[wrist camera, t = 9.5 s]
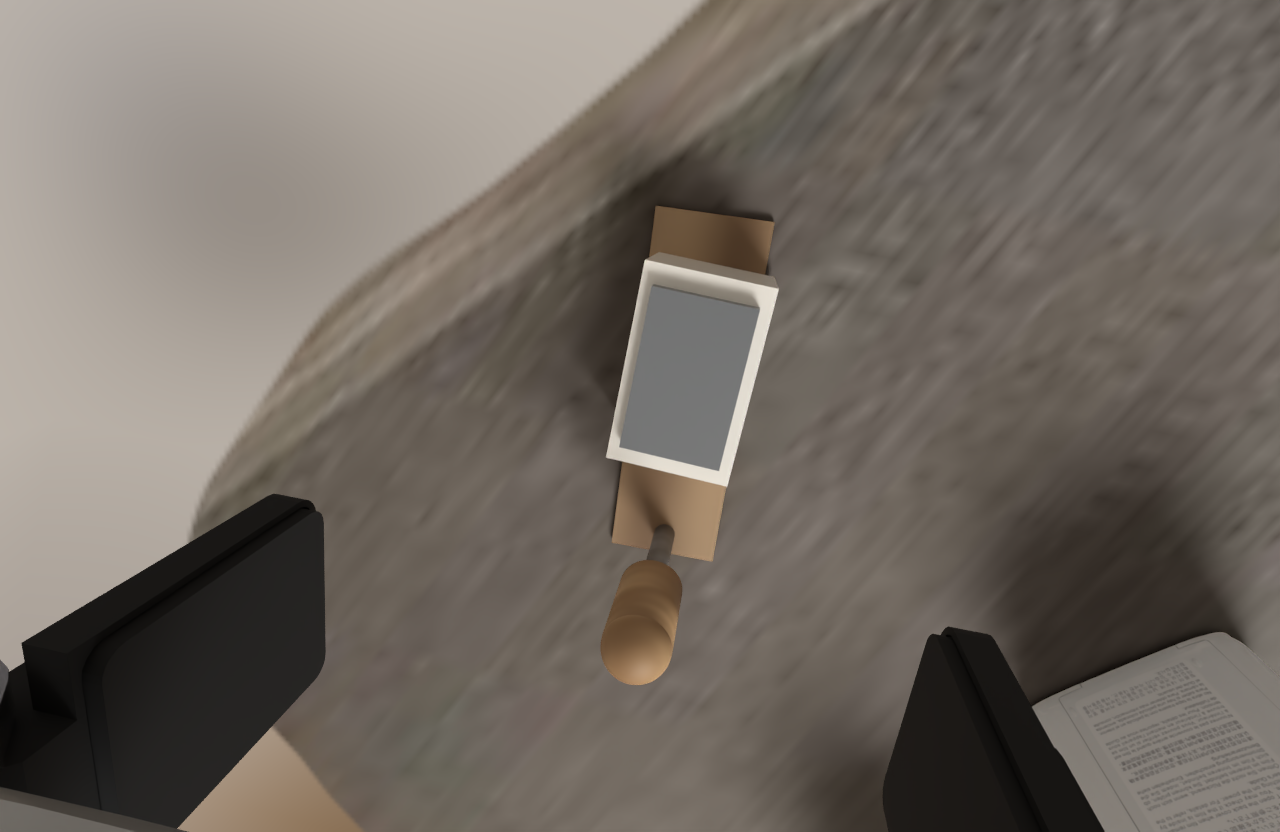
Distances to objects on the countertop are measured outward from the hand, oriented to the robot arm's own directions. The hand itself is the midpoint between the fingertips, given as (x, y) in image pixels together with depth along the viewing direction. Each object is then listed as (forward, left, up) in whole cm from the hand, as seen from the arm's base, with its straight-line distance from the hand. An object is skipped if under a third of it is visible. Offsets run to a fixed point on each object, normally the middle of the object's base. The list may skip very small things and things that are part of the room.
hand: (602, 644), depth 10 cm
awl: (0, +9, -21) cm, 23 cm away
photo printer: (-23, +13, -22) cm, 34 cm away
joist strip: (0, +2, -22) cm, 22 cm away
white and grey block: (0, 0, -21) cm, 21 cm away
